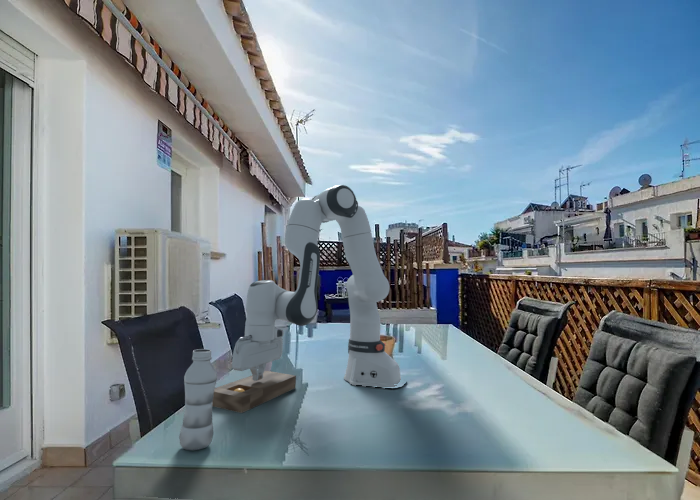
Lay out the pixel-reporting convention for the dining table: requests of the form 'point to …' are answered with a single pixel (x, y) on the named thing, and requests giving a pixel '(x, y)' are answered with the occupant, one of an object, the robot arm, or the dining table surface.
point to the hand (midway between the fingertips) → (257, 379)
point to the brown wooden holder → (252, 391)
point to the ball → (239, 390)
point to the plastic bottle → (198, 402)
